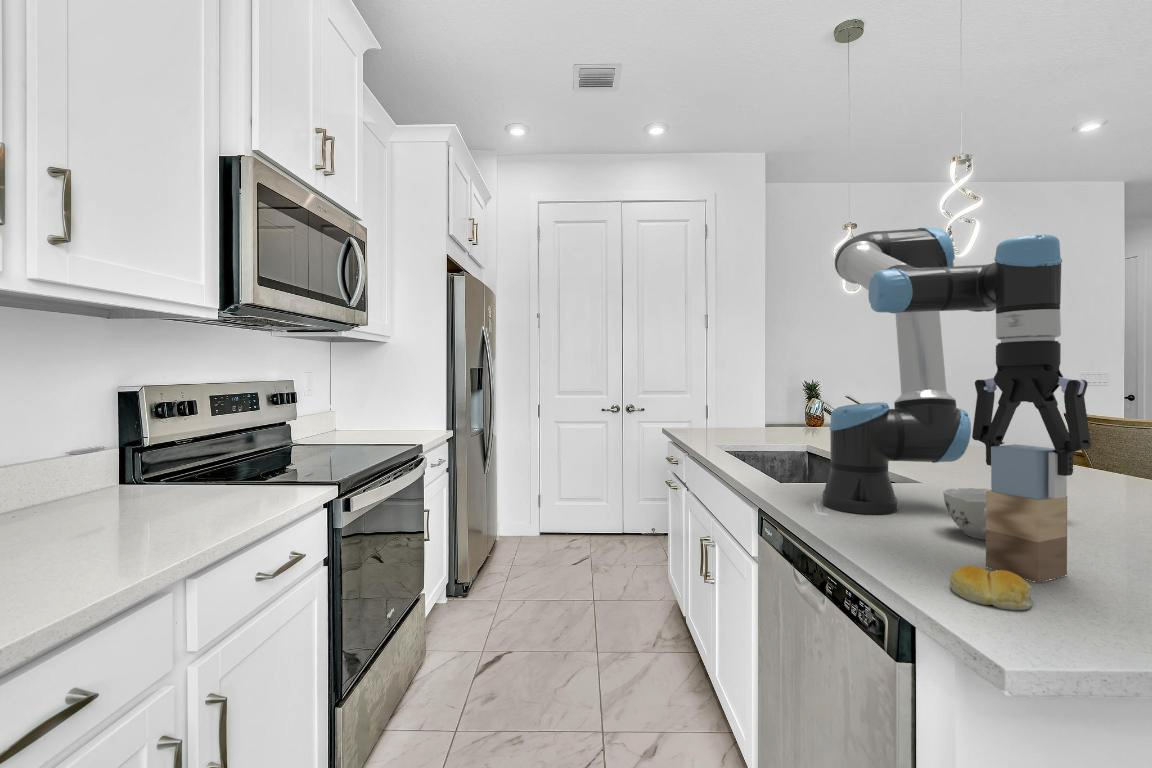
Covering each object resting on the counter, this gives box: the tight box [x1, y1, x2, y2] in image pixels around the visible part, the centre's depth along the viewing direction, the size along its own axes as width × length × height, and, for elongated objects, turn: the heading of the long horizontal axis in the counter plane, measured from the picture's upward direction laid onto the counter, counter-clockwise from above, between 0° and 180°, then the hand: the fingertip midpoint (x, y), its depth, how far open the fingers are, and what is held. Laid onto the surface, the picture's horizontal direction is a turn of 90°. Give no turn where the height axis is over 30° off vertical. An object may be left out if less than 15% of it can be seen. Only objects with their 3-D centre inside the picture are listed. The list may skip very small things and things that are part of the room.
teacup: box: [943, 487, 991, 541], centre depth 99 cm, size 15×12×8 cm
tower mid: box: [986, 491, 1068, 542], centre depth 82 cm, size 7×7×6 cm
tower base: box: [985, 530, 1068, 584], centre depth 82 cm, size 7×7×6 cm
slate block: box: [990, 443, 1055, 500], centre depth 82 cm, size 6×6×7 cm
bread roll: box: [949, 565, 1034, 611], centre depth 73 cm, size 8×9×4 cm
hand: (1026, 491), depth 82 cm, fingers open, 7 cm apart
